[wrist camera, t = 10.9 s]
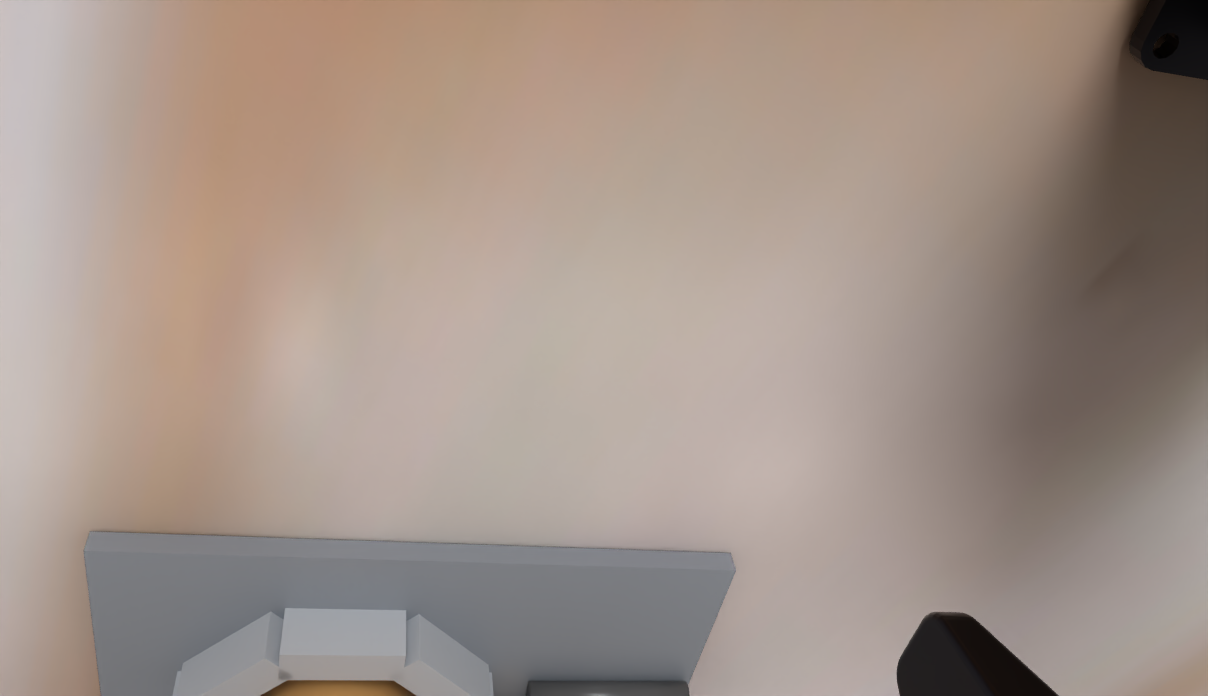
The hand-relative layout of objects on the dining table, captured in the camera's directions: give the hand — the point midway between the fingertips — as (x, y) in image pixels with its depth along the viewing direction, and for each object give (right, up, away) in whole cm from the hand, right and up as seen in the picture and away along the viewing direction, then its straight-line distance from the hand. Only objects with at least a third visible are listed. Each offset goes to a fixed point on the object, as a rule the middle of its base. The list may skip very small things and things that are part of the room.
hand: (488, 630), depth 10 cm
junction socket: (-4, -7, +20) cm, 22 cm away
